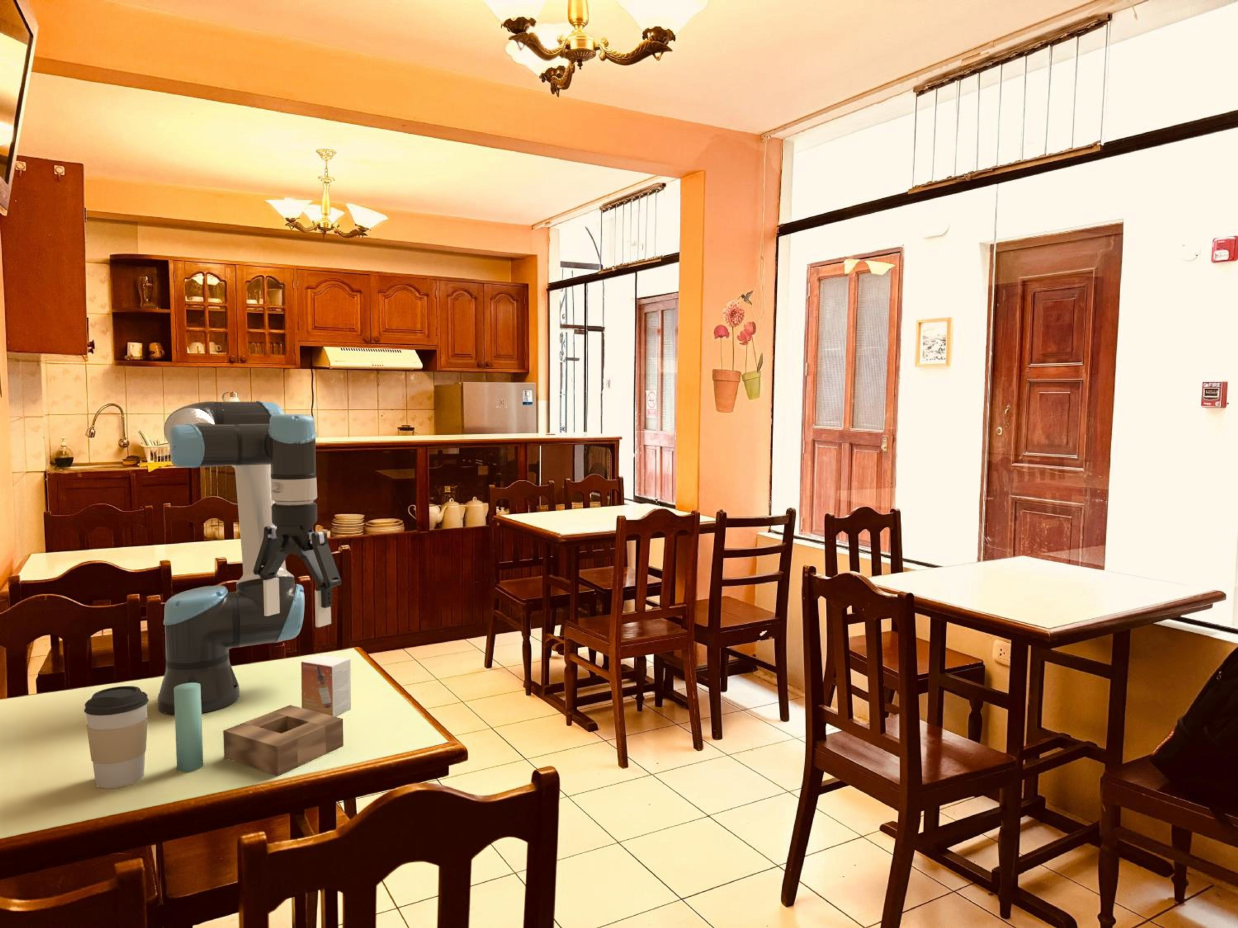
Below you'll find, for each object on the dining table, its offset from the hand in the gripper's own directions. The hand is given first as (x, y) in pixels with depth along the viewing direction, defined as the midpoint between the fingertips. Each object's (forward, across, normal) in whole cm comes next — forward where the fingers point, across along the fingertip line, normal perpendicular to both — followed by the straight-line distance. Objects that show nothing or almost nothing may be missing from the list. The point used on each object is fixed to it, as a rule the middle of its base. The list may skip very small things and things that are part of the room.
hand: (297, 619), depth 147 cm
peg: (+23, -9, -15) cm, 29 cm away
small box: (+24, -10, +14) cm, 29 cm away
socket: (+23, 0, -3) cm, 24 cm away
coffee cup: (+24, -15, -24) cm, 36 cm away
